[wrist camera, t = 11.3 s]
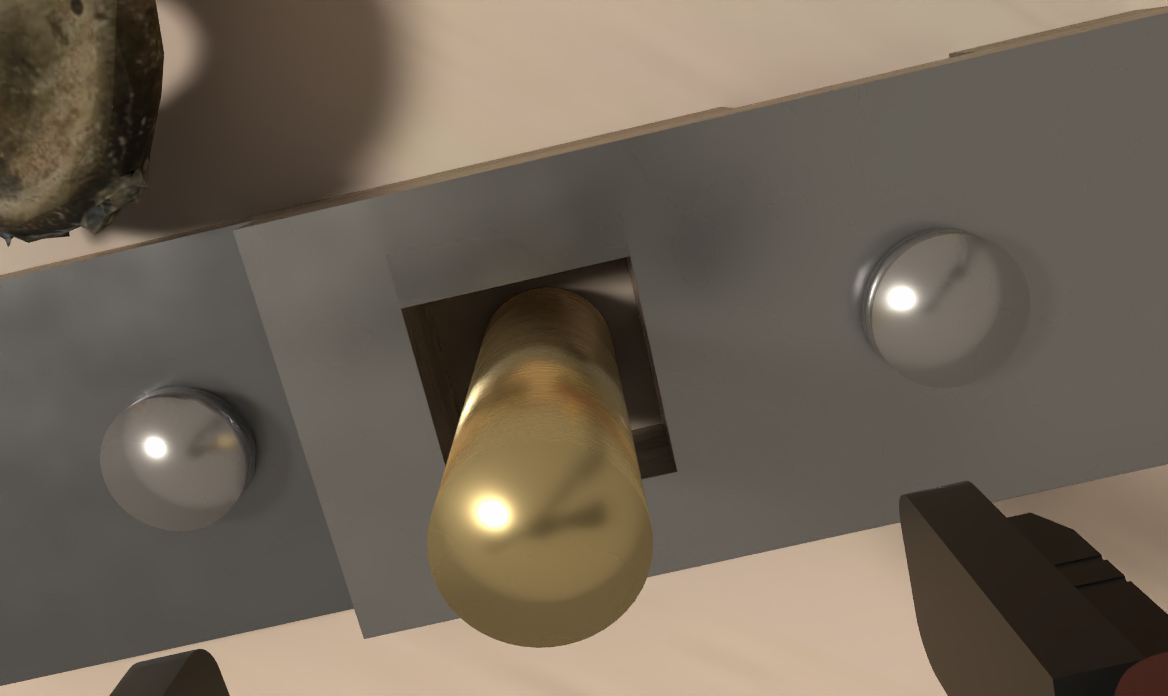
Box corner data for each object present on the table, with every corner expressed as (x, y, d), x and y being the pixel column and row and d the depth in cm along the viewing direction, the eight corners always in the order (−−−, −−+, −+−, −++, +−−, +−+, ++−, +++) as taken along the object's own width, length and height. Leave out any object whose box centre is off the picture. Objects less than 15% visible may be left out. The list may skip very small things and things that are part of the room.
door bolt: (1134, 10, 21) (1254, -5, 18) (1164, 401, 24) (1277, 460, 20) (-113, 301, 22) (-247, 345, 19) (33, 650, 24) (-60, 750, 21)
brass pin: (596, 273, 22) (626, 418, 13) (625, 397, 23) (673, 621, 14) (467, 303, 23) (400, 468, 13) (500, 425, 23) (459, 667, 14)
